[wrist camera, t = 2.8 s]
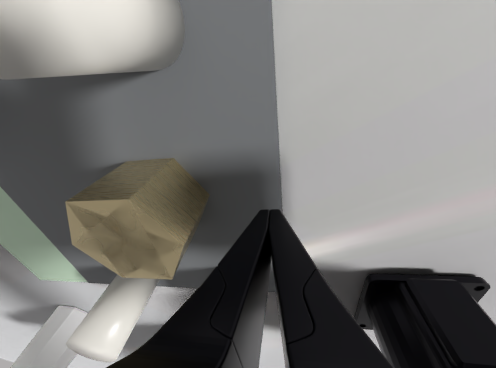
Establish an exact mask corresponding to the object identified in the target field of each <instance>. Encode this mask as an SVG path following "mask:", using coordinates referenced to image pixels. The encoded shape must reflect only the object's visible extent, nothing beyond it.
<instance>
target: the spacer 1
mask: <svg viewBox="0 0 496 368" xmlns="http://www.w3.org/2000/svg"><path fill="white" fill-rule="evenodd" d="M184 36H185V25H184V17H183V12H182V9H181V5H180V3H179V0H0V79H5V80H10V79H26V78H42V77H59V76H75V75H91V74H107V73H124V72H140V71H156V70H162V69H165V68H167V67H169V66H170V65H171V64H173V63H174V62H175V60H176V59H177V58H178V56H179V54H180V52H181V50H182V47H183V43H184Z"/></svg>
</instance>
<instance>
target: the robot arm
mask: <svg viewBox="0 0 496 368" xmlns="http://www.w3.org/2000/svg"><path fill="white" fill-rule="evenodd" d="M271 259H272V267H273V275H274V282H275V290H276V298H277V306H278V313H279V321H280V329H281V337H282V344H283V352H284V360H285V368H496V324H495V323H494V322H493V321H492V320H491V318H490V317H489V316H488V315H487V314H486V312H485V311H484V310H483V309H482V308H481V306H480V305H479V304H478V302H479V300H480V299H481V298H482V297H483V296H484V295H485V293H486V292H487V291H488V290H489V289H490V285H489V284H488V283H487V282H486V281H485V280H484V279H483V278H481V277H460V276H428V275H395V274H372V275H369V276H368V277H367V278H366V281H365V284H364V288H363V291H362V294H361V298H360V301H359V305H358V308H357V311H356V315H355V318H353V317H352V315H351V314H350V313H349V312H348V310H347V309H346V308H345V307H344V305H343V304H342V303H341V301H340V300H339V299H338V298H337V296H336V295H335V294H334V292H333V291H332V289H331V288H330V286H329V285H328V283H327V282H326V281H325V279H324V278H323V276H322V274H321V273H320V271H319V270H318V269H317V267H316V265H315V264H314V262H313V260H312V259H311V257H310V256H309V254H308V253H307V251H306V249H305V248H304V246H303V245H302V243H301V242H300V240H299V239H298V237H297V235H296V234H295V232H294V231H293V229H292V228H291V226H290V224H289V223H288V221H287V220H286V218H285V217H284V215H283V213H282V212H281V210H280V209H271V210H269V209H261V210H260V211H259V212H258V213H257V214H256V216H255V217H254V218H253V220H252V221H251V222H250V223H249V225H248V226H247V227H246V229H245V230H244V231H243V232H242V234H241V235H240V236H239V238H238V239H237V240H236V242H235V243H234V244H233V245H232V247H231V248H230V249H229V251H228V252H227V253H226V254H225V256H224V257H223V258H222V260H221V261H220V262H219V263H218V266H216V267H215V268H214V270H213V271H212V272H211V274H210V275H209V276H208V277H207V279H206V280H205V281H204V282H203V283H202V285H201V286H200V287H199V288H198V289H197V290H196V291H195V292H194V294H193V295H192V296H191V297H190V298H189V299H188V300H187V301H186V302H185V303H184V304H183V305H182V306H181V307H180V309H179V310H178V311H177V312H176V313H175V314H174V315H173V316H172V317H171V318H170V319H169V320H168V321H167V322H166V323H165V324H164V325H163V326H162V327H161V329H160V330H159V331H158V332H157V333H156V334H155V335H154V336H153V337H152V338H151V339H149V340H148V341H147V342H146V343H145V344H144V345H142V346H141V347H140V348H139V349H137V350H136V351H134V352H133V353H131V354H130V355H128V356H126V357H125V358H123V359H121V360H119V361H117V362H115V363H114V364H112V365H110V366H108V367H106V368H258V367H259V359H260V351H261V343H262V335H263V327H264V319H265V310H266V302H267V294H268V286H269V278H270V270H271ZM363 329H370V330H374V333H375V336H376V338H377V341H378V344H379V347H380V349H381V351H380V350H379V349H378V348H377V346H376V345H375V344H374V343H373V341H372V340H371V339H370V338H369V337H368V335H367V334H366V333H365V332H364V330H363ZM381 352H382V353H381Z"/></svg>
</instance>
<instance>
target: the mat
mask: <svg viewBox="0 0 496 368" xmlns="http://www.w3.org/2000/svg"><path fill="white" fill-rule="evenodd" d="M179 3H180V5H181V9H182V12H183V17H184V25H185V36H184V43H183V47H182V50H181V52H180V54H179V56H178V58H177V59H176V60H175V62H174V63H173V64H171V65H170V66H169V67H167V68H165V69H162V70H156V71H140V72H124V73H107V74H91V75H75V76H59V77H42V78H26V79H10V80H5V79H0V245H2V246H3V247H4V248H5V249H6V250H7V251H8V252H9V253H11V254H12V255H13V256H14V257H15V258H16V259H17V260H18V261H19V262H21V263H22V264H23V265H24V266H25V267H26V268H27V269H28V270H30V271H31V272H32V273H33V274H34V275H35V276H36V277H37V278H38V279H40V280H51V281H72V282H88V283H104V284H110V283H111V282H112V281H113V279H114V278H115V277H116V275H117V274H116V273H115V272H113V271H112V270H110V269H109V268H107V267H105V266H104V265H102V264H101V263H99V262H98V261H96V260H95V259H93V258H92V257H90V256H89V255H87V254H86V253H84V252H83V251H81V250H79V249H78V248H76V247H75V246H73V245H72V241H71V235H70V228H69V222H68V216H67V210H66V203H65V202H66V201H67V200H69V199H70V198H72V197H73V196H75V195H76V194H78V193H79V192H81V191H82V190H84V189H85V188H87V187H88V186H90V185H91V184H93V183H95V182H96V181H98V180H99V179H101V178H102V177H104V176H105V175H107V174H108V173H110V172H111V171H113V170H114V169H116V168H117V167H119V166H120V165H122V164H123V163H125V162H127V161H138V160H151V159H164V158H174V159H175V160H176V161H177V162H178V163H179V164H180V165H181V166H182V167H183V168H184V169H185V170H186V171H187V172H188V173H189V174H190V175H191V176H192V177H193V178H194V179H195V180H196V181H197V182H198V183H199V184H200V185H201V187H202V188H203V189H204V190H205V191H206V192H207V193H208V194H209V198H208V201H207V203H206V206H205V209H204V211H203V214H202V217H201V219H200V222H199V224H198V227H197V229H196V231H195V233H194V235H193V237H192V239H191V242H190V244H189V246H188V248H187V250H186V252H185V254H184V256H183V258H182V260H181V262H180V264H179V266H178V268H177V271H176V273H175V275H174V277H173V279H172V280H170V279H159V282H158V284H157V286H165V287H186V288H199V287H200V286H201V285H202V283H203V282H204V281H205V280H206V279H207V277H208V276H209V275H210V274H211V272H212V271H213V270H214V268H215V267H216V266H218V263H219V262H220V261H221V260H222V258H223V257H224V256H225V254H226V253H227V252H228V251H229V249H230V248H231V247H232V245H233V244H234V243H235V242H236V240H237V239H238V238H239V236H240V235H241V234H242V232H243V231H244V230H245V229H246V227H247V226H248V225H249V223H250V222H251V221H252V220H253V218H254V217H255V216H256V214H257V213H258V212H259V211H260V210H261V209H269V210H271V209H280V210H281V212H282V197H281V177H280V158H279V138H278V119H277V99H276V80H275V60H274V41H273V22H272V2H271V0H179ZM268 292H276V290H275V282H274V275H273V267H272V259H271V270H270V278H269V286H268Z"/></svg>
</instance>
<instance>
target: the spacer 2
mask: <svg viewBox="0 0 496 368" xmlns="http://www.w3.org/2000/svg"><path fill="white" fill-rule="evenodd" d="M158 282H159V279H146V278H122V277H121V276H119V275H118V274H117V275H116V277H115V278H114V279H113V281H112V282H111V283H110V285H109V286H108V287H107V289H106V290H105V291H104V293H103V294H102V295H101V297H100V298H99V299H98V301H97V302H96V303H95V305H94V306H93V307H92V309H91V310H90V311H89V313H88V314H87V315H86V317H85V318H84V319H83V321H82V322H81V323H80V325H79V326H78V327H77V328H76V330H75V331H74V332H73V334H72V335H71V336H70V338H69V339H68V340H67V342H66V346H67V347H68V348H69V349H70V350H72V351H74V352H75V353H77V354H79V355H82V356H84V357H87V358H90V359H93V360H97V361H102V362H115V361H116V360H117V358H118V356H119V354H120V352H121V351H122V349H123V347H124V345H125V343H126V341H127V339H128V338H129V336H130V334H131V332H132V330H133V328H134V326H135V325H136V323H137V321H138V319H139V317H140V315H141V313H142V312H143V310H144V308H145V306H146V304H147V302H148V300H149V299H150V297H151V295H152V293H153V291H154V289H155V287H156V286H157V284H158Z"/></svg>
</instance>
